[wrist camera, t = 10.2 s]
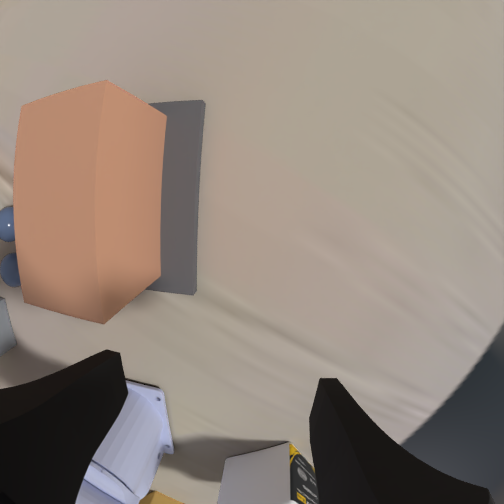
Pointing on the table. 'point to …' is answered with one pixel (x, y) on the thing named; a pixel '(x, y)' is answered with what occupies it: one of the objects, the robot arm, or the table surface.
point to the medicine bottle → (269, 478)
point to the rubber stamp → (158, 499)
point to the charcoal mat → (180, 196)
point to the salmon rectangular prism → (88, 200)
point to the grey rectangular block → (5, 329)
